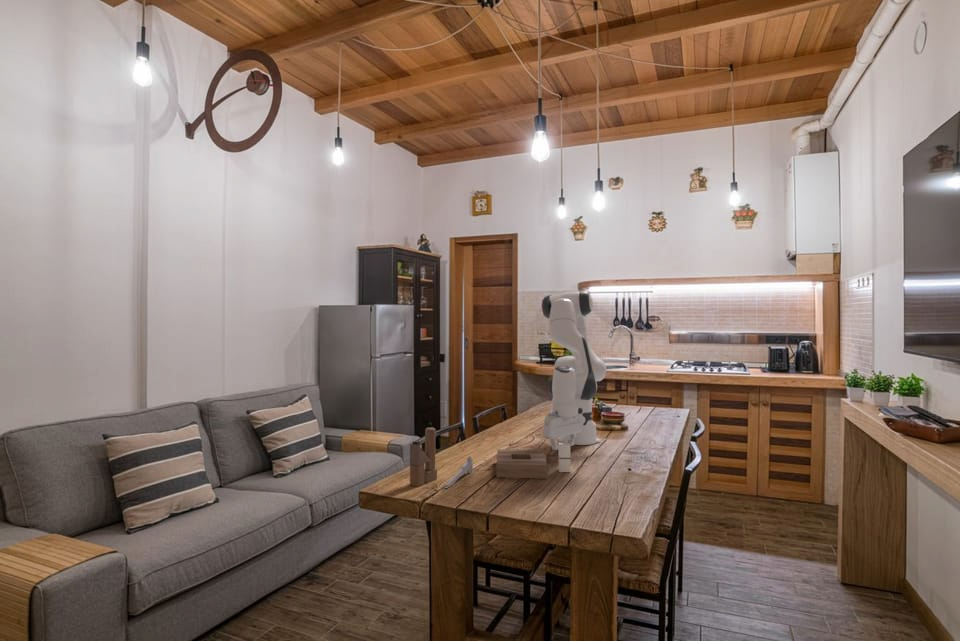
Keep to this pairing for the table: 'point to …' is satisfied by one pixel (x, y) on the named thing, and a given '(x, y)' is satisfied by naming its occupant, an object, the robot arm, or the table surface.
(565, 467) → the square peg
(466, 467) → the caliper
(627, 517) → the table surface
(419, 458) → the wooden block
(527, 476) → the socket block
